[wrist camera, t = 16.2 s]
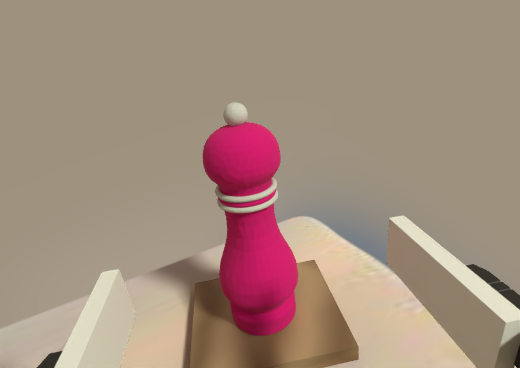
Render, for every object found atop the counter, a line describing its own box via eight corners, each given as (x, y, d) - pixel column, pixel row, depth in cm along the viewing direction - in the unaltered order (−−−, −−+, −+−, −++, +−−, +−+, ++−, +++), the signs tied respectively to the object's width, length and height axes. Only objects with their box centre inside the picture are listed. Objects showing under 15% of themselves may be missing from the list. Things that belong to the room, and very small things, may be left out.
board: (192, 397, 25) (188, 384, 24) (198, 293, 36) (195, 283, 35) (358, 359, 26) (358, 346, 25) (315, 269, 37) (314, 259, 37)
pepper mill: (212, 314, 31) (164, 111, 23) (263, 274, 35) (237, 93, 27) (265, 357, 26) (227, 116, 18) (316, 304, 30) (304, 94, 22)
